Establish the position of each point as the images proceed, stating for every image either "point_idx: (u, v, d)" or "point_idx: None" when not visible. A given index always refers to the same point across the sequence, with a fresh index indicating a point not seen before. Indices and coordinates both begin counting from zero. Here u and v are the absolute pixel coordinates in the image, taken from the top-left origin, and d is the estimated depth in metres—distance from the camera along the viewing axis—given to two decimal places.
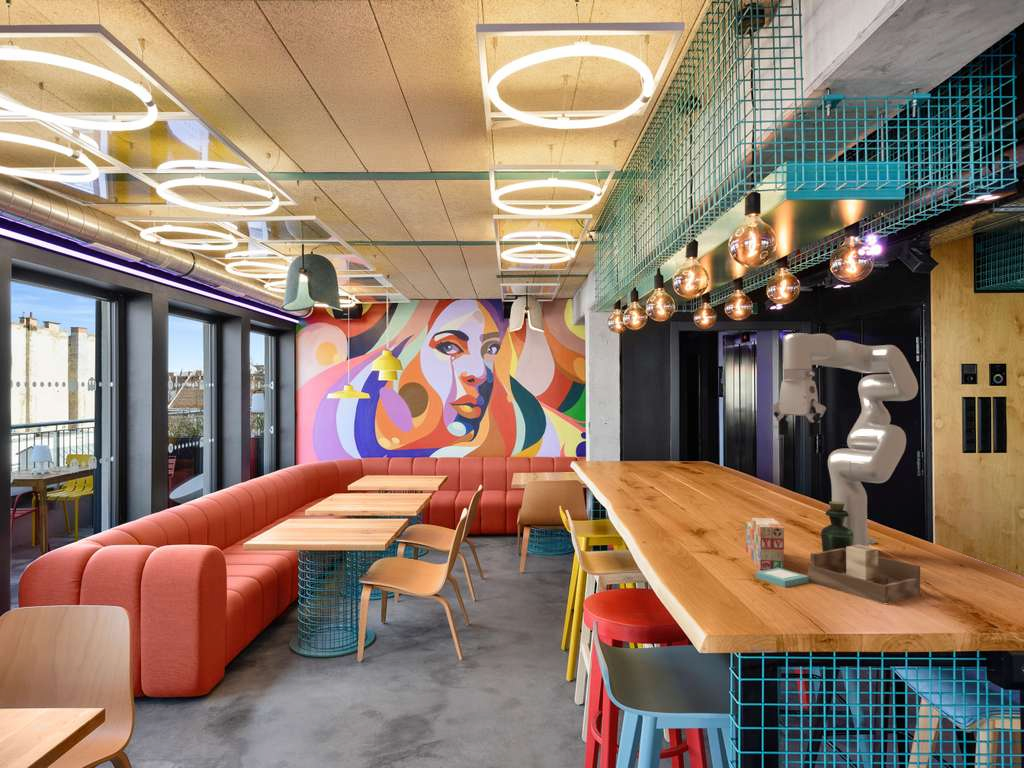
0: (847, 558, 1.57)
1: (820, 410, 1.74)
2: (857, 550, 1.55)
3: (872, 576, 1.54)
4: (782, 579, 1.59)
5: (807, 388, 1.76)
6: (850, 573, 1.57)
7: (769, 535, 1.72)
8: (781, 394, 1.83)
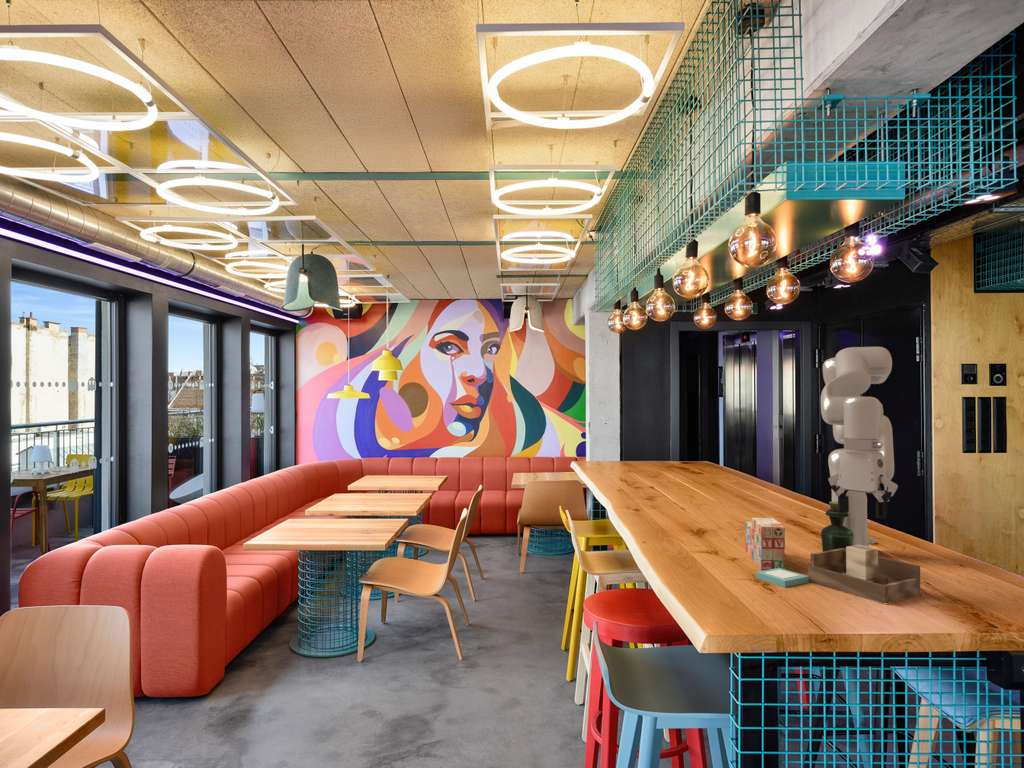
0: (847, 558, 1.57)
1: (891, 489, 1.49)
2: (857, 550, 1.55)
3: (872, 576, 1.54)
4: (782, 579, 1.59)
5: (874, 462, 1.52)
6: (850, 573, 1.57)
7: (770, 535, 1.72)
8: (841, 466, 1.59)
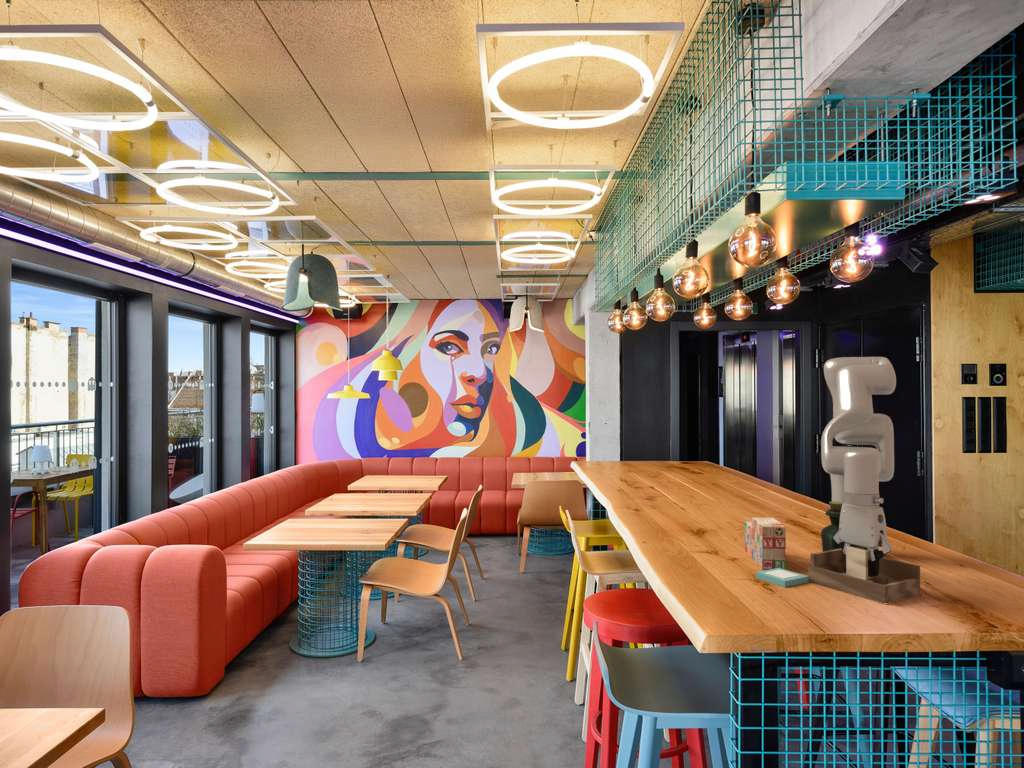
0: (847, 558, 1.57)
1: (885, 550, 1.51)
2: (857, 550, 1.55)
3: None
4: (782, 579, 1.59)
5: (875, 517, 1.52)
6: (850, 573, 1.57)
7: (771, 535, 1.73)
8: (842, 519, 1.59)
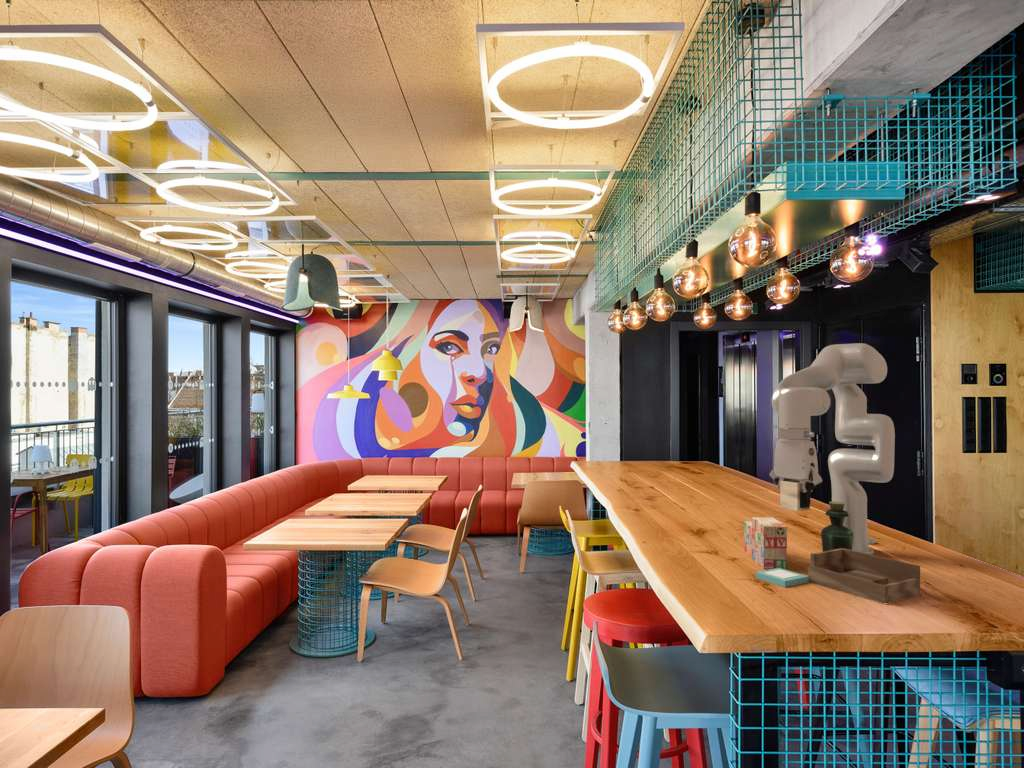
0: (781, 492, 1.63)
1: (815, 481, 1.57)
2: (790, 483, 1.61)
3: (804, 508, 1.60)
4: (782, 579, 1.59)
5: (806, 450, 1.58)
6: (783, 506, 1.62)
7: (772, 534, 1.73)
8: (776, 455, 1.65)
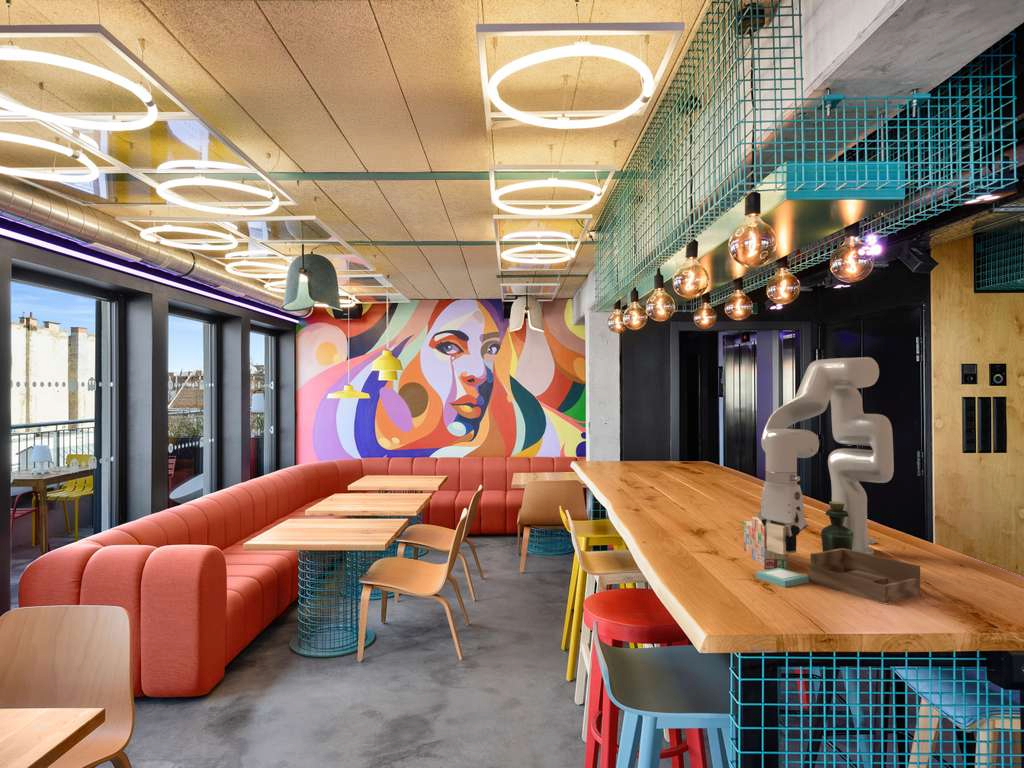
0: (767, 534, 1.64)
1: (801, 526, 1.58)
2: (776, 526, 1.62)
3: (790, 551, 1.61)
4: (782, 579, 1.59)
5: (792, 495, 1.59)
6: (770, 548, 1.63)
7: None
8: (763, 497, 1.66)
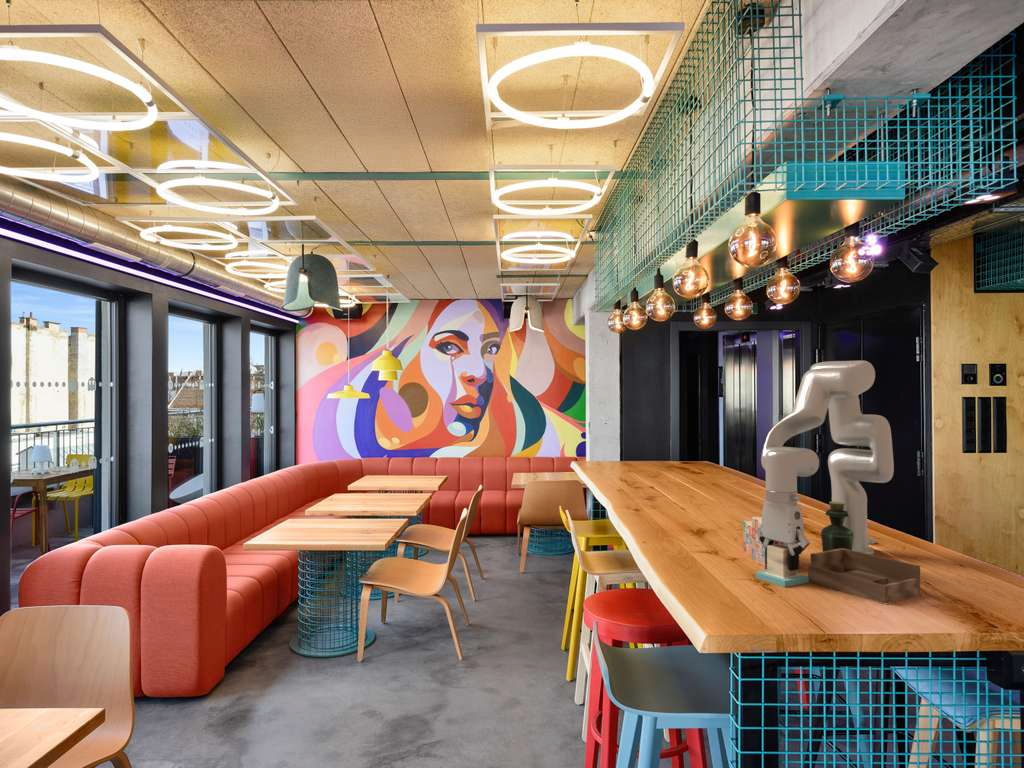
0: (768, 557, 1.64)
1: (803, 544, 1.57)
2: (776, 549, 1.62)
3: (790, 574, 1.61)
4: (782, 579, 1.59)
5: (792, 514, 1.59)
6: (770, 571, 1.63)
7: None
8: (763, 516, 1.66)
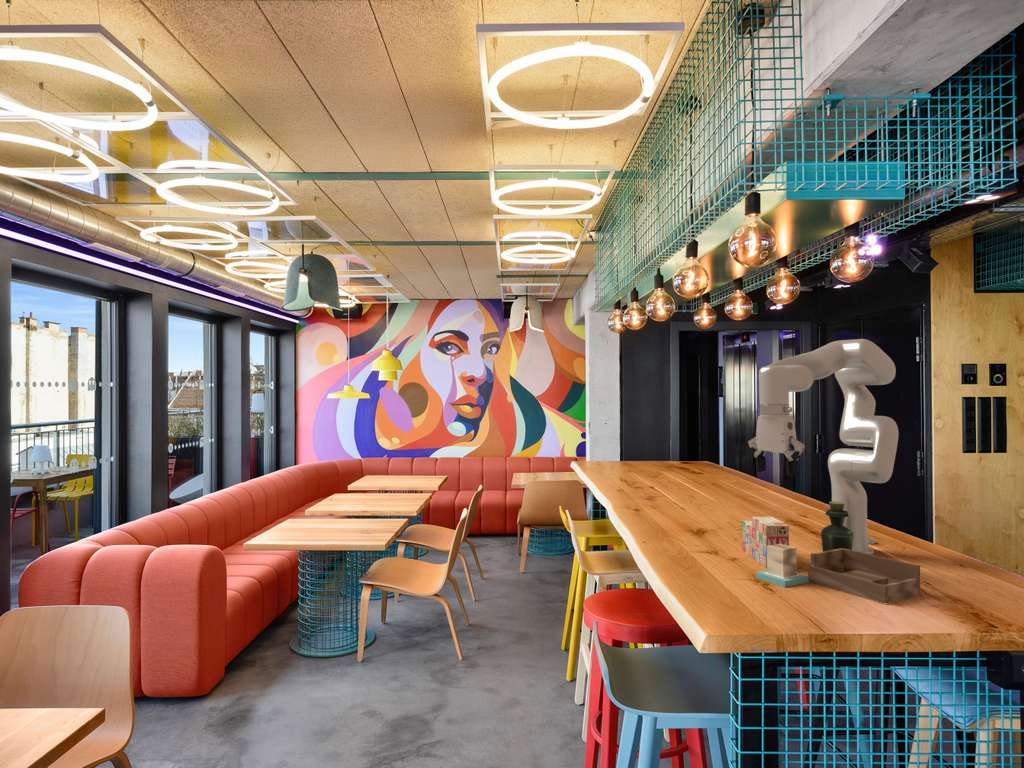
0: (768, 557, 1.64)
1: (799, 448, 1.65)
2: (776, 549, 1.62)
3: (790, 574, 1.61)
4: (782, 579, 1.59)
5: (785, 425, 1.68)
6: (770, 571, 1.63)
7: (775, 533, 1.74)
8: (758, 430, 1.75)
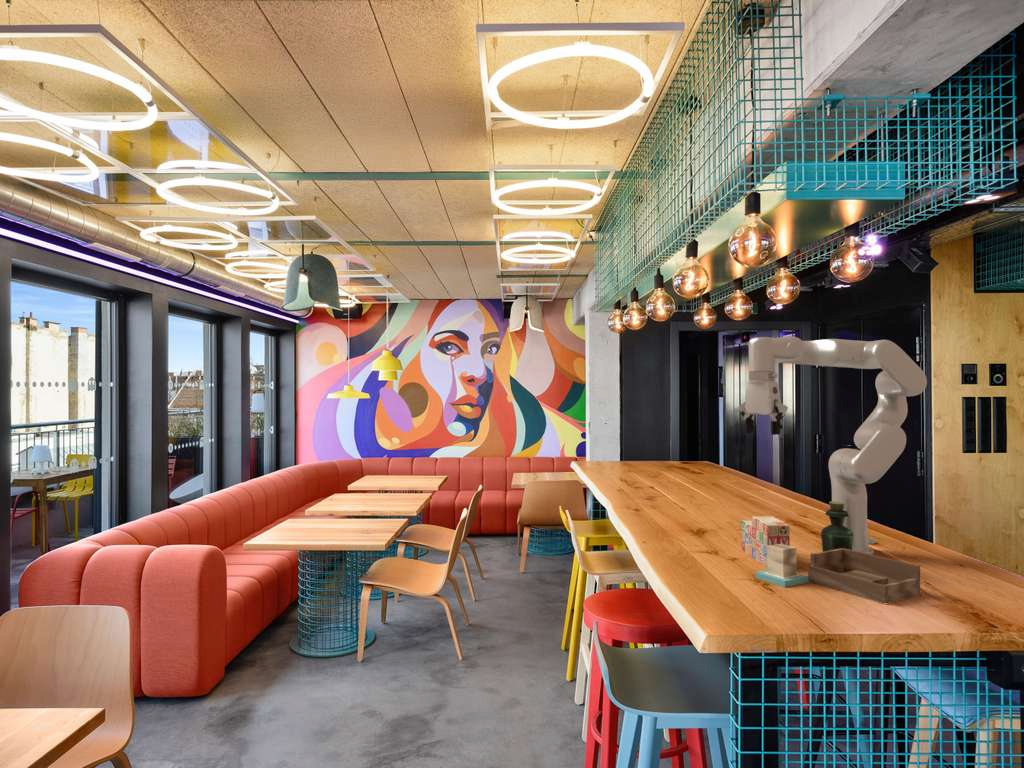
0: (768, 557, 1.64)
1: (782, 410, 1.85)
2: (776, 549, 1.62)
3: (790, 574, 1.61)
4: (782, 579, 1.59)
5: (770, 389, 1.88)
6: (770, 571, 1.63)
7: (775, 533, 1.74)
8: (747, 394, 1.95)
